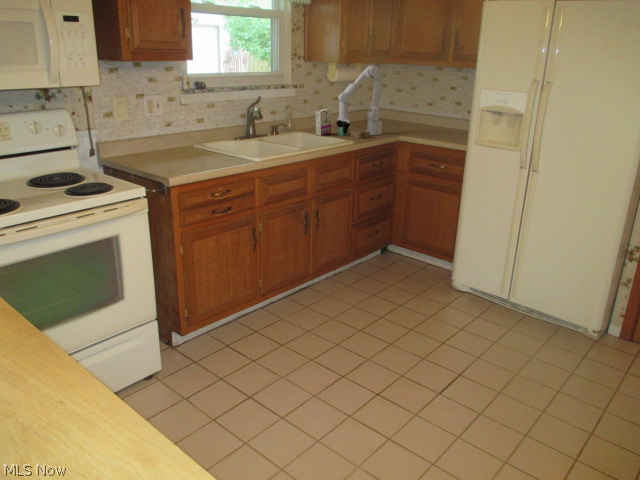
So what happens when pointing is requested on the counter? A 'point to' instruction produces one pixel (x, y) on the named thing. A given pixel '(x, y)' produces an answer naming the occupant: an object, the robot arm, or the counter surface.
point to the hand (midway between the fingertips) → (343, 132)
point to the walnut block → (360, 134)
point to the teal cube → (341, 131)
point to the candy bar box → (323, 122)
